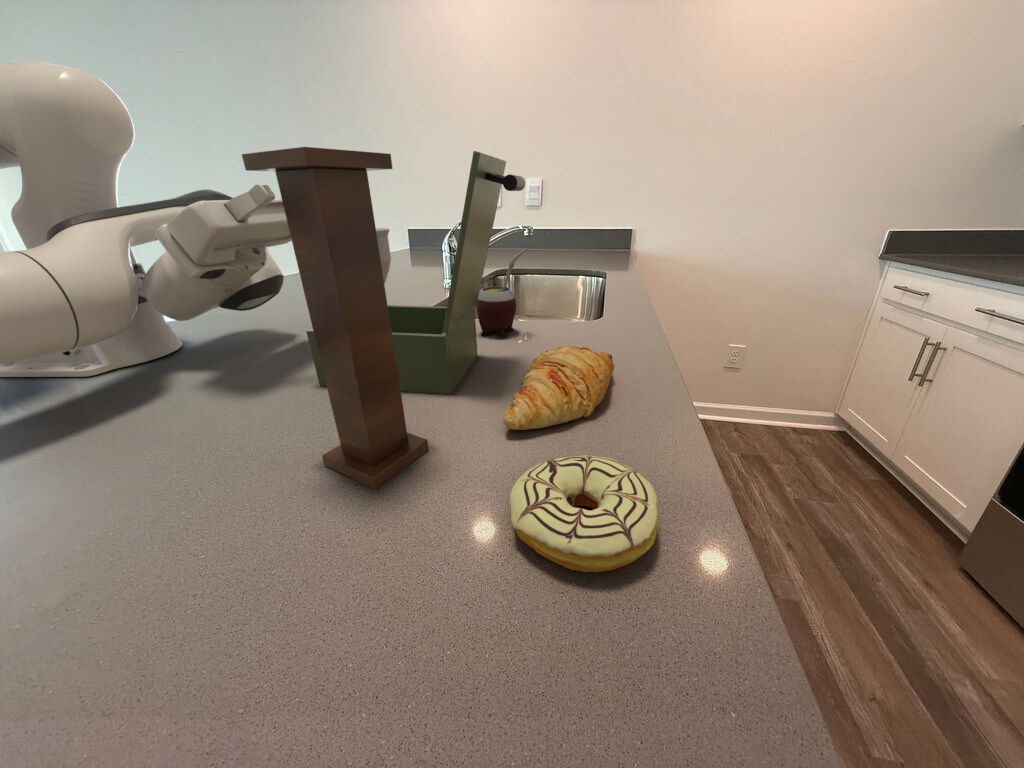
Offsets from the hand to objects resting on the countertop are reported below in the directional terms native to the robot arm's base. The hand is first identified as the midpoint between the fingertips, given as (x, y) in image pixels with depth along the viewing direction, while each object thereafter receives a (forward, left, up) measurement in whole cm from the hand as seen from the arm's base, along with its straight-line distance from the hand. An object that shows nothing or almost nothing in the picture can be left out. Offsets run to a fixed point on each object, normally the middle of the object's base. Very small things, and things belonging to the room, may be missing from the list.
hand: (293, 190), depth 51 cm
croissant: (+31, -18, -24) cm, 43 cm away
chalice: (+6, +15, -24) cm, 29 cm away
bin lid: (+22, -8, -6) cm, 24 cm away
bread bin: (+11, -4, -24) cm, 27 cm away
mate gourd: (+27, +10, -24) cm, 38 cm away
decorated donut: (+27, -38, -24) cm, 52 cm away
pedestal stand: (+10, -26, -24) cm, 37 cm away
